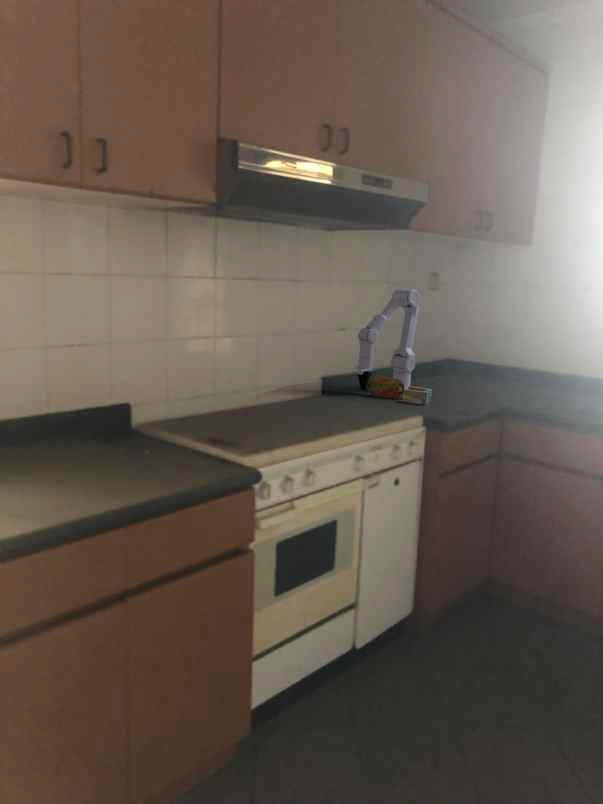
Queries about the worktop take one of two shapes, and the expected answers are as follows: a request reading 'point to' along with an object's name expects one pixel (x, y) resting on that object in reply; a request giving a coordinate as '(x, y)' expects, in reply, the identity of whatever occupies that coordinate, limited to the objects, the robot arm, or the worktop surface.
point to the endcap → (417, 395)
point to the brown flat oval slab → (386, 387)
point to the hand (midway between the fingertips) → (363, 389)
